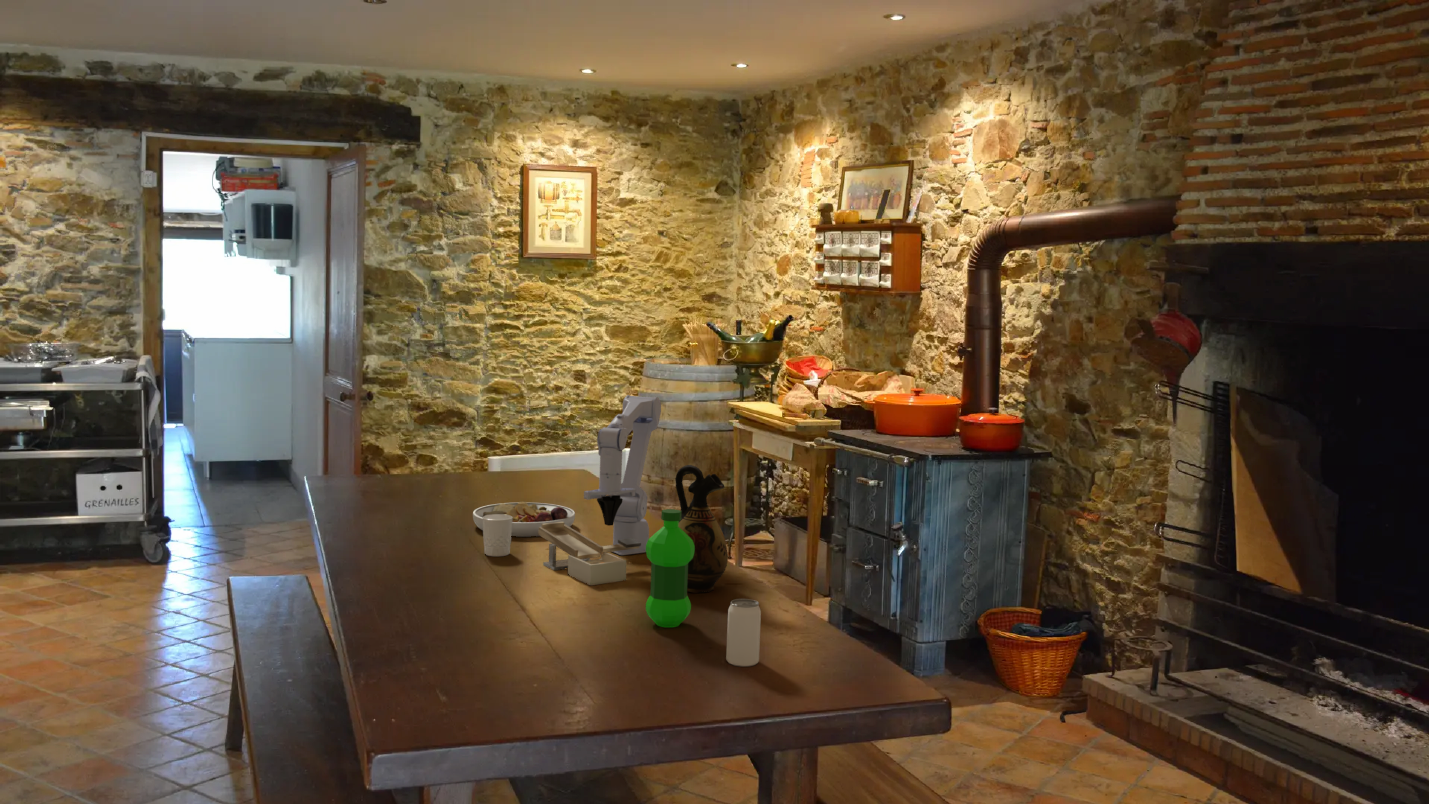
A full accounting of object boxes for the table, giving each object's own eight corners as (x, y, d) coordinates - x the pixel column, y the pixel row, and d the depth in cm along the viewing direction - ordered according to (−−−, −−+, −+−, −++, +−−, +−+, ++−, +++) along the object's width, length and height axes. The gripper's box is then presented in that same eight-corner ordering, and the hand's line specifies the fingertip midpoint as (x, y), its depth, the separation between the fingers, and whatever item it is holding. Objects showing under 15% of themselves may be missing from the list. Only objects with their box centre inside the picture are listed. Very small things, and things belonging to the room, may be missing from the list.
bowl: (452, 532, 326) (452, 505, 325) (508, 514, 354) (508, 489, 353) (541, 544, 315) (542, 516, 314) (592, 525, 343) (593, 499, 342)
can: (724, 656, 224) (726, 597, 223) (756, 656, 225) (759, 598, 223) (727, 667, 218) (730, 607, 216) (760, 667, 218) (763, 607, 217)
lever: (600, 529, 308) (601, 517, 307) (641, 553, 291) (642, 540, 291) (538, 536, 297) (538, 524, 296) (577, 561, 280) (578, 548, 279)
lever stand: (583, 560, 298) (584, 537, 297) (595, 565, 293) (595, 542, 292) (543, 565, 290) (543, 542, 290) (554, 570, 286) (554, 547, 285)
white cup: (505, 558, 296) (505, 521, 296) (477, 555, 298) (477, 518, 297) (516, 551, 304) (517, 515, 303) (489, 549, 306) (489, 513, 305)
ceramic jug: (734, 584, 279) (739, 465, 276) (714, 599, 265) (719, 474, 262) (671, 576, 285) (675, 459, 282) (648, 590, 270) (652, 468, 267)
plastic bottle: (674, 634, 237) (678, 518, 234) (634, 624, 243) (638, 511, 240) (700, 623, 246) (704, 511, 243) (660, 614, 251) (664, 504, 248)
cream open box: (602, 570, 288) (603, 551, 287) (625, 580, 279) (626, 560, 278) (567, 574, 282) (568, 555, 281) (590, 585, 273) (590, 565, 272)
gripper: (594, 477, 285) (592, 529, 286) (642, 474, 294) (640, 525, 295) (580, 473, 291) (578, 524, 292) (628, 470, 299) (626, 520, 300)
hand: (608, 524), depth 294 cm, fingers closed
